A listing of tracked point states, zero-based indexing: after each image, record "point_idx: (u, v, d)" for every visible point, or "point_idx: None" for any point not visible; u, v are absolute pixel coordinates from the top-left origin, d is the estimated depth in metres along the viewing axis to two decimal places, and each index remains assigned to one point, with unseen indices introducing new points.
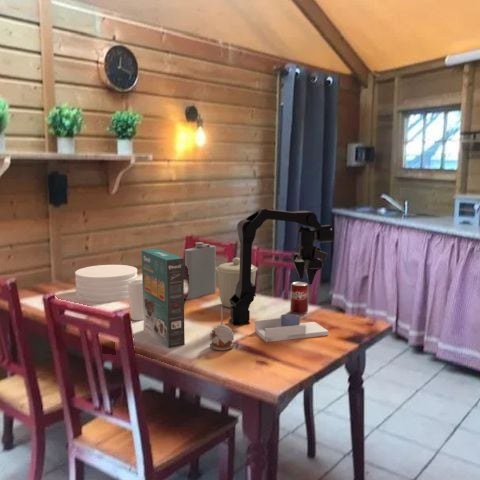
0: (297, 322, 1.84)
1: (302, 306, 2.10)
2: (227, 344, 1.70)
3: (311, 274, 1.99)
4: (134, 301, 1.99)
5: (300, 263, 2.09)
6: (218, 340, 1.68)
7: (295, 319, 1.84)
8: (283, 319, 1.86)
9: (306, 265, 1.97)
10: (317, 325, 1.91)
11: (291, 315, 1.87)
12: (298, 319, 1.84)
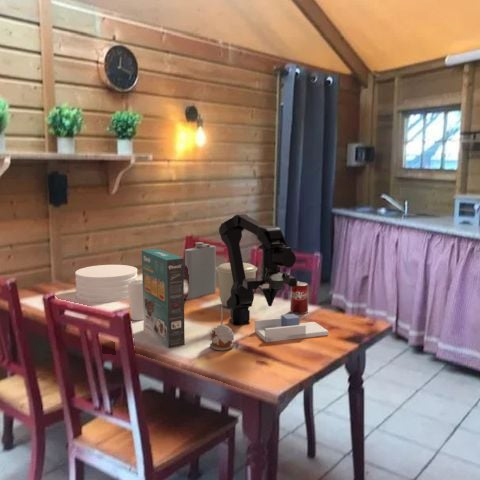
0: (297, 322, 1.84)
1: (302, 306, 2.10)
2: (227, 344, 1.70)
3: (266, 294, 1.82)
4: (134, 301, 1.99)
5: (271, 288, 1.82)
6: (218, 340, 1.68)
7: (295, 319, 1.84)
8: (283, 319, 1.86)
9: None
10: (317, 325, 1.91)
11: (291, 315, 1.87)
12: (298, 319, 1.84)
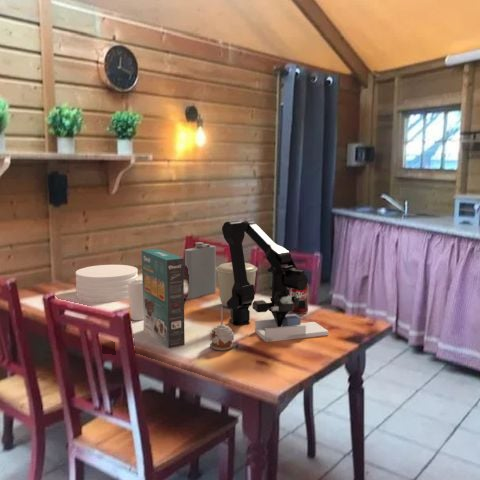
0: (298, 322, 1.84)
1: None
2: (227, 344, 1.70)
3: (275, 316, 1.84)
4: (134, 301, 1.99)
5: None
6: (218, 340, 1.68)
7: (296, 319, 1.84)
8: (284, 319, 1.86)
9: None
10: (317, 325, 1.91)
11: (292, 315, 1.87)
12: (299, 319, 1.84)
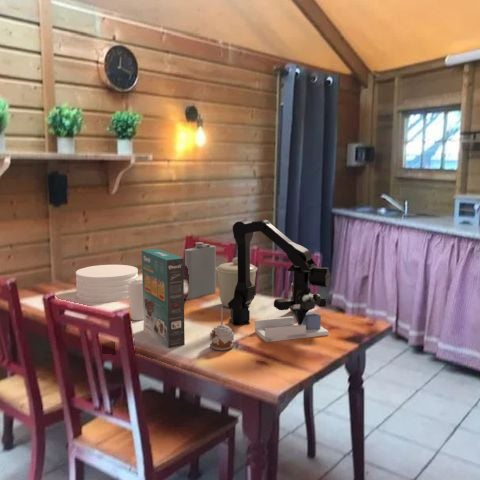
0: (318, 320, 1.87)
1: None
2: (227, 344, 1.70)
3: (296, 314, 1.87)
4: (134, 301, 1.99)
5: (301, 308, 1.87)
6: (218, 340, 1.68)
7: (316, 317, 1.86)
8: (304, 317, 1.88)
9: None
10: None
11: (312, 313, 1.90)
12: (319, 317, 1.87)
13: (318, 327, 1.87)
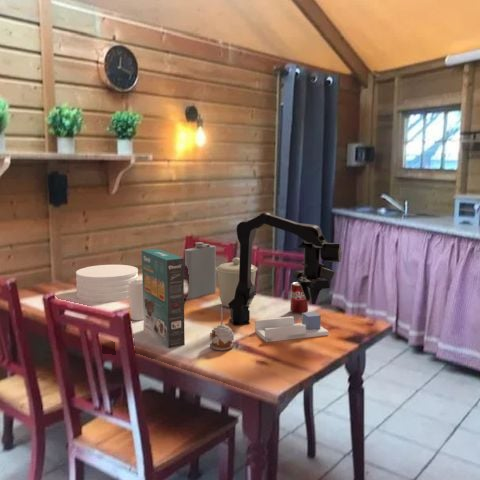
0: (318, 320, 1.87)
1: (302, 306, 2.10)
2: (227, 344, 1.70)
3: (314, 293, 1.83)
4: (134, 301, 1.99)
5: (307, 283, 1.89)
6: (218, 340, 1.68)
7: (316, 317, 1.86)
8: (304, 317, 1.88)
9: (312, 285, 1.79)
10: None
11: (312, 313, 1.90)
12: (319, 317, 1.87)
13: (318, 327, 1.87)
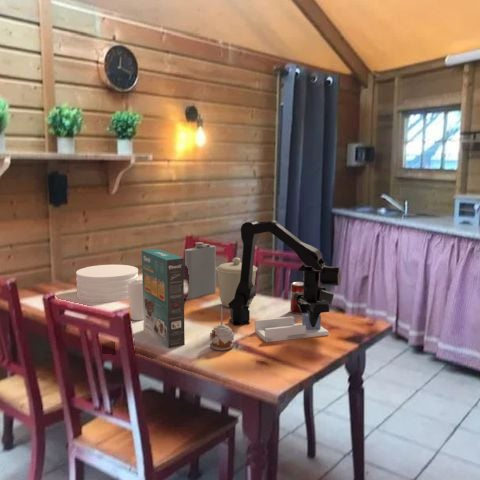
0: (318, 320, 1.87)
1: None
2: (227, 344, 1.70)
3: (314, 317, 1.84)
4: (134, 301, 1.99)
5: (306, 305, 1.91)
6: (218, 340, 1.68)
7: None
8: (304, 317, 1.88)
9: (311, 309, 1.80)
10: None
11: None
12: (319, 317, 1.87)
13: (318, 327, 1.87)
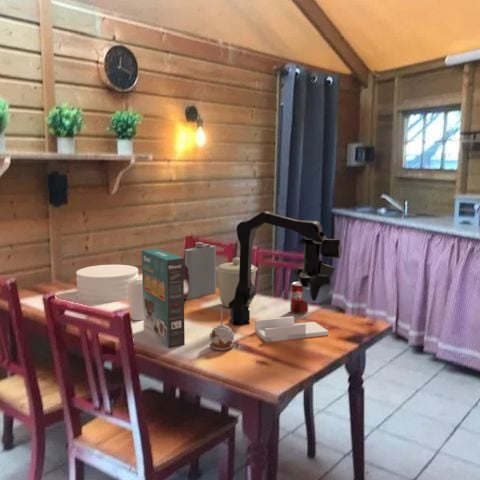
0: (319, 293, 1.85)
1: (302, 306, 2.10)
2: (227, 344, 1.70)
3: (315, 290, 1.83)
4: (134, 301, 1.99)
5: (306, 279, 1.89)
6: (218, 340, 1.68)
7: None
8: (305, 290, 1.87)
9: (312, 281, 1.78)
10: (317, 325, 1.91)
11: None
12: (320, 290, 1.85)
13: (319, 301, 1.86)
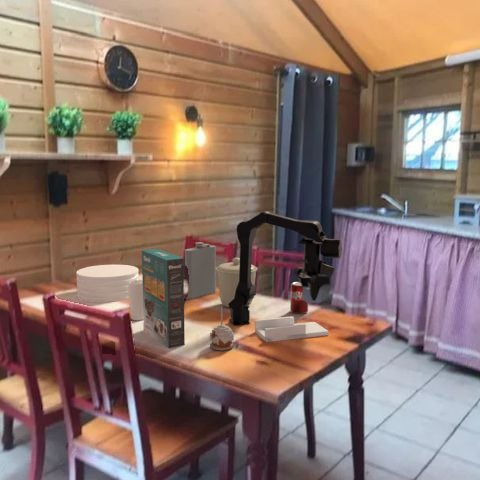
0: (319, 293, 1.85)
1: (302, 306, 2.10)
2: (227, 344, 1.70)
3: (315, 290, 1.83)
4: (134, 301, 1.99)
5: (306, 279, 1.89)
6: (218, 340, 1.68)
7: None
8: (305, 290, 1.87)
9: (312, 281, 1.78)
10: (317, 325, 1.91)
11: None
12: (320, 290, 1.85)
13: (319, 301, 1.86)
